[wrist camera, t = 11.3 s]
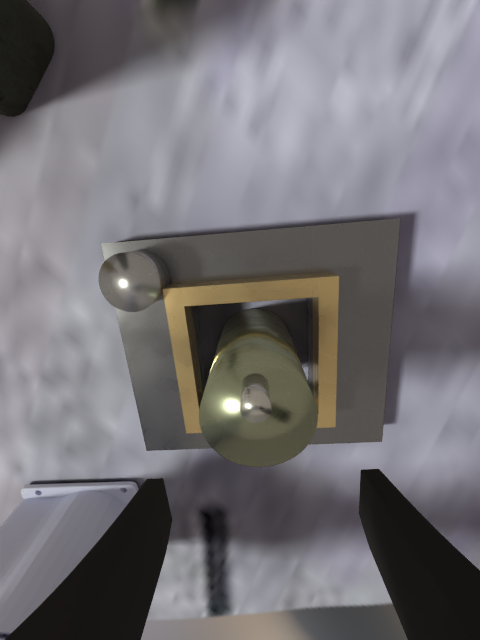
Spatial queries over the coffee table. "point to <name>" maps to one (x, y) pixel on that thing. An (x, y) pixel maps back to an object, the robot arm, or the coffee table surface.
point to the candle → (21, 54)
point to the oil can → (257, 393)
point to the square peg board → (248, 286)
